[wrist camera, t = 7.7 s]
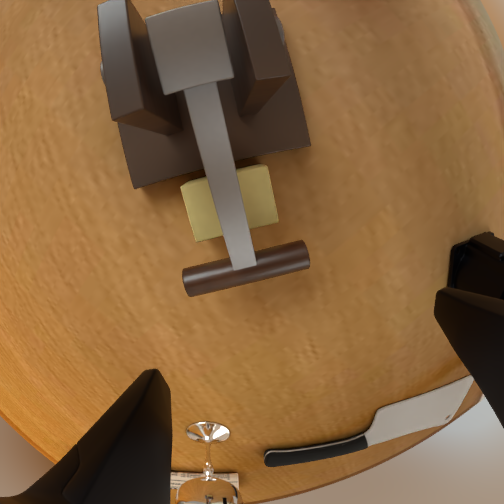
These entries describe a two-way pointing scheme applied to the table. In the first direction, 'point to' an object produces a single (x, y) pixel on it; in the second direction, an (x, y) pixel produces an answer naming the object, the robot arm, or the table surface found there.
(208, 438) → the wineglass
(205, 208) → the butter
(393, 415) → the kitchen cleaver
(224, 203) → the lever handle
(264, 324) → the table surface
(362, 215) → the table surface
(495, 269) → the robot arm
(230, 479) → the newspaper
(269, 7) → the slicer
